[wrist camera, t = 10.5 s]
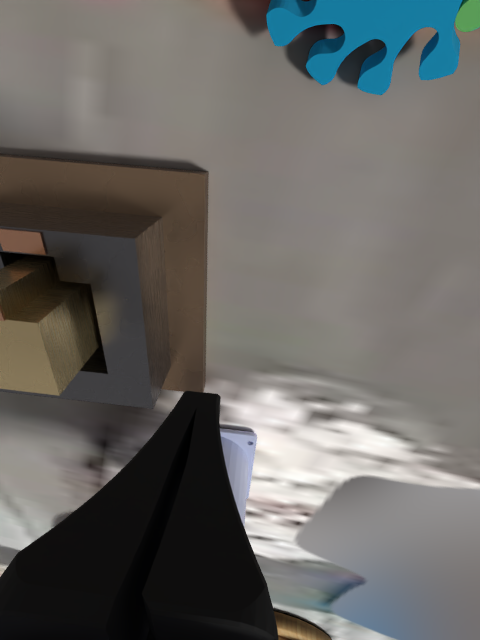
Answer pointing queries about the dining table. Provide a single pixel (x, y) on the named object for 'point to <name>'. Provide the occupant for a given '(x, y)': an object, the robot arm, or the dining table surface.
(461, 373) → the dining table surface
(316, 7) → the gear
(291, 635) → the wooden plate with food
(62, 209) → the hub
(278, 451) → the dining table surface
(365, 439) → the dining table surface
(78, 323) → the keyed shaft
